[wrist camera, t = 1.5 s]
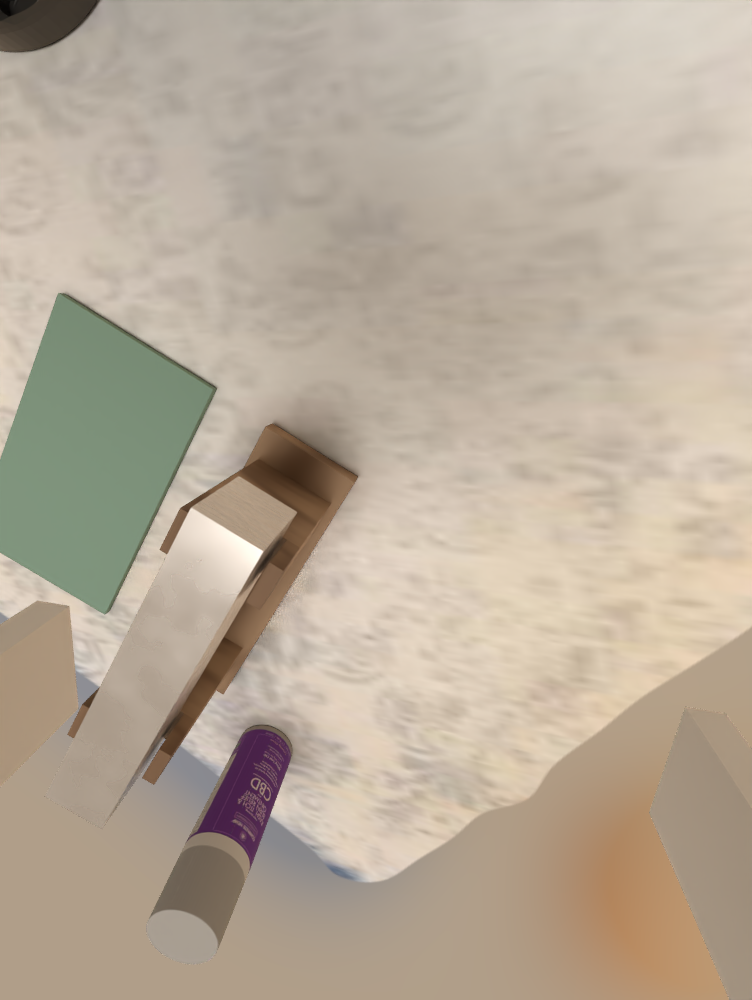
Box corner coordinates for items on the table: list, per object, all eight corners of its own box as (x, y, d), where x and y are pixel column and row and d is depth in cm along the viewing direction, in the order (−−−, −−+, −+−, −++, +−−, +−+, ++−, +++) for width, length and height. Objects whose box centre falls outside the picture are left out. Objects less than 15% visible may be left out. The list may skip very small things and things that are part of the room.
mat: (-21, 533, 42) (-27, 536, 41) (64, 293, 35) (58, 293, 35) (109, 610, 43) (104, 614, 42) (216, 388, 36) (213, 389, 35)
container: (299, 737, 44) (229, 928, 30) (282, 777, 45) (208, 976, 31) (248, 716, 44) (153, 897, 30) (233, 756, 45) (136, 946, 31)
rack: (157, 639, 43) (46, 753, 31) (272, 423, 36) (187, 464, 24) (230, 682, 43) (148, 812, 31) (358, 476, 36) (315, 542, 25)
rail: (105, 727, 34) (44, 796, 29) (238, 476, 27) (191, 507, 22) (154, 755, 34) (101, 829, 29) (297, 512, 28) (263, 551, 22)
